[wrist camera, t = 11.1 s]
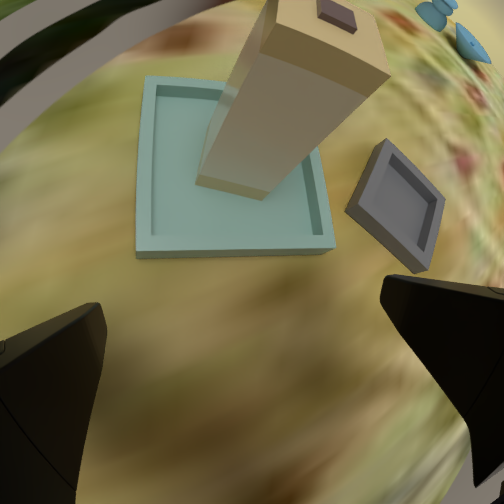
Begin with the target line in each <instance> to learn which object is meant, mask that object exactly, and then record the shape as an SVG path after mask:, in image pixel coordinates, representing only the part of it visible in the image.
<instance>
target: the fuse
mask: <svg viewBox="0 0 504 504" xmlns="http://www.w3.org/2000/svg"><path fill="white" fill-rule="evenodd" d="M390 77H391V73H390V69H389V66H388V62H387V58H386V54H385V51H384V47H383V44H382V40H381V37H380V34H379V30H378V27H377V24H376V21H375V18H374V16H373V15H372V14H370V13H368V12H366V11H364V10H363V9H361V8H359V7H357V6H355V5H353V4H351V3H349V2H347V1H345V0H267V1H266V3H265V5H264V7H263V9H262V11H261V13H260V15H259V17H258V19H257V21H256V22H255V24H254V26H253V28H252V30H251V32H250V34H249V36H248V38H247V40H246V43H245V45H244V47H243V49H242V51H241V53H240V55H239V57H238V59H237V61H236V63H235V66H234V68H233V70H232V72H231V74H230V76H229V79H228V81H227V83H226V85H225V87H224V90H223V92H222V94H221V96H220V99H219V101H218V103H217V106H216V108H215V110H214V113H213V115H212V117H211V120H210V122H209V125H208V127H207V130H206V134H205V139H204V143H203V148H202V152H201V157H200V161H199V166H198V170H197V175H196V180H195V185H198V186H202V187H206V188H210V189H215V190H219V191H223V192H227V193H231V194H235V195H239V196H243V197H247V198H251V199H255V200H259V201H262V200H263V199H264V198H265V197H266V196H267V195H268V194H269V193H270V192H271V191H272V190H273V189H274V188H275V187H276V186H277V185H278V184H279V183H280V182H281V181H282V180H283V179H284V178H285V177H286V176H287V175H288V174H289V173H290V172H291V171H292V170H293V169H294V168H295V167H296V166H297V165H298V164H299V163H300V162H301V161H302V160H303V159H305V158H306V157H307V156H308V155H309V154H310V153H311V152H312V151H313V150H314V149H315V148H316V147H317V146H318V145H319V144H320V143H321V142H322V141H323V140H324V139H325V138H326V137H327V136H328V135H329V134H330V133H331V132H332V131H333V130H334V129H336V128H337V127H338V126H339V125H340V124H341V123H342V122H343V121H344V120H345V119H346V118H347V117H348V116H349V115H350V114H351V113H352V112H353V111H354V110H355V109H357V108H358V107H359V106H360V105H361V104H362V103H363V102H364V101H365V100H366V99H367V98H368V97H369V96H370V95H371V94H372V93H374V92H375V91H376V90H377V89H378V88H379V87H380V86H381V85H382V84H383V83H384V82H385V81H386V80H388V79H389V78H390Z"/></svg>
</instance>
